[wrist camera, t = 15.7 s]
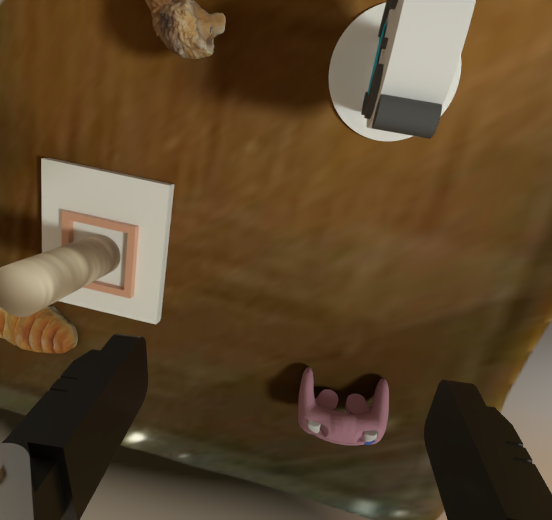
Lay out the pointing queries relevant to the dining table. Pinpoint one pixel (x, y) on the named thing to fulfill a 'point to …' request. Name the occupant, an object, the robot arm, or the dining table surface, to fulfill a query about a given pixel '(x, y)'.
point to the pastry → (39, 331)
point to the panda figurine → (399, 67)
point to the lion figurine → (186, 27)
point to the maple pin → (55, 274)
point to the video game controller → (343, 414)
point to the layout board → (111, 232)
